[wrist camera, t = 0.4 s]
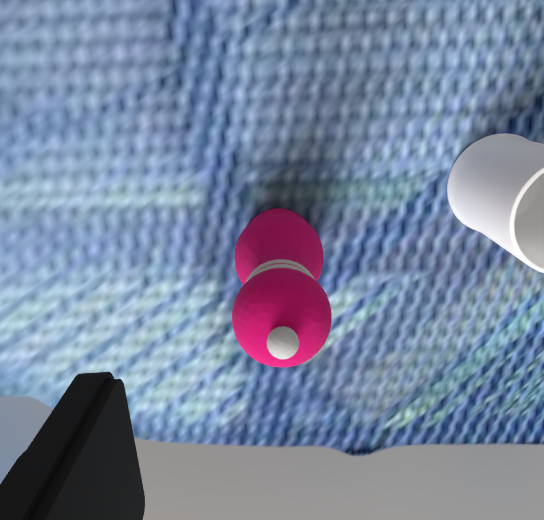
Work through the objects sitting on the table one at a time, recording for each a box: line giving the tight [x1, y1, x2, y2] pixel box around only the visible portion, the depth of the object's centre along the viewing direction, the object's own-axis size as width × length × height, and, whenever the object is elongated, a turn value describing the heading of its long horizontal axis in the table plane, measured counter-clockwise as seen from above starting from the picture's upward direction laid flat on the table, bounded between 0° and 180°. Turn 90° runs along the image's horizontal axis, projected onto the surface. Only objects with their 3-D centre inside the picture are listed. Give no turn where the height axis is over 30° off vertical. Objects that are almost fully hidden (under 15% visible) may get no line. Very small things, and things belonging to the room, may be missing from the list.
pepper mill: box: [232, 208, 331, 367], centre depth 37 cm, size 7×7×20 cm
